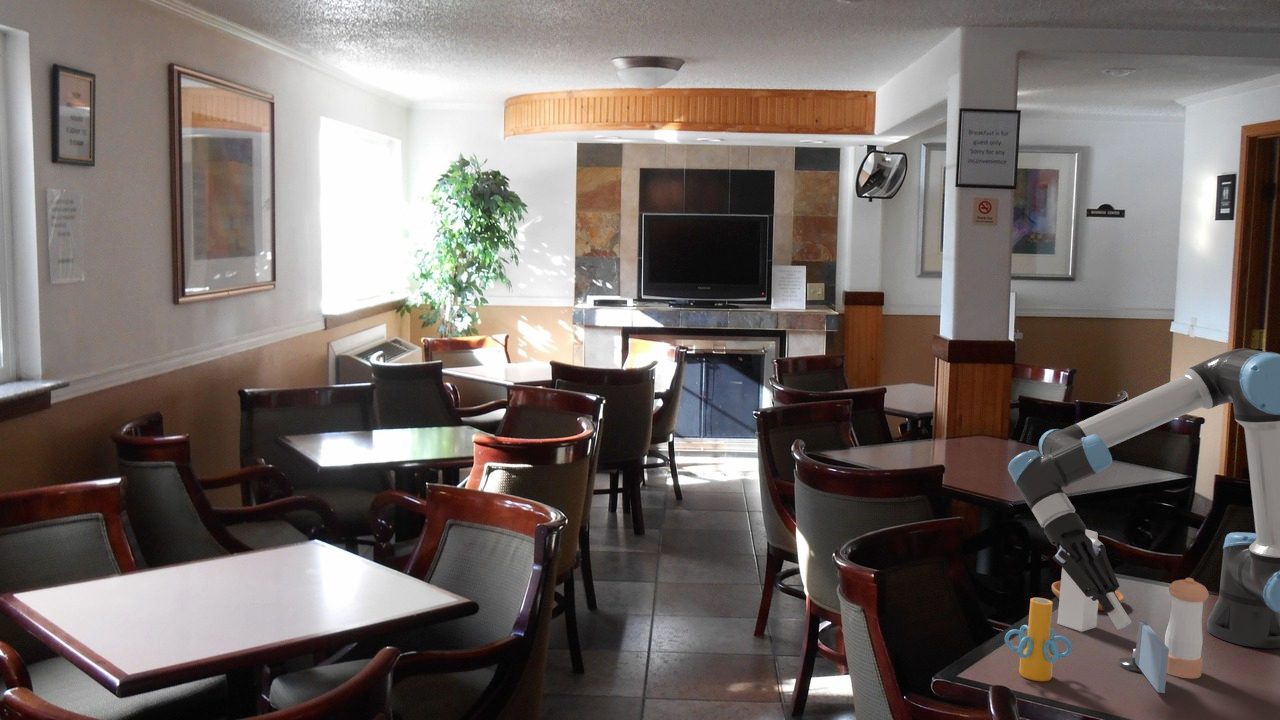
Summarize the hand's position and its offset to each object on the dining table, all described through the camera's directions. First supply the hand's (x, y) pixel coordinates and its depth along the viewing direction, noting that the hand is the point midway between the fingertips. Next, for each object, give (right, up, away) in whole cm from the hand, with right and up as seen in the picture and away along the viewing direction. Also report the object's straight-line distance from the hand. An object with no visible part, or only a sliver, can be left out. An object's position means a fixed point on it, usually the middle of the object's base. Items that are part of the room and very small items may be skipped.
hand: (1124, 626), depth 203 cm
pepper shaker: (+15, -11, +9) cm, 21 cm away
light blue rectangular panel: (+5, -10, +1) cm, 11 cm away
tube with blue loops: (-16, -11, +3) cm, 20 cm away
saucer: (+14, -7, +51) cm, 53 cm away
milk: (+4, -8, +33) cm, 34 cm away
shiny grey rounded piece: (+7, -11, +10) cm, 16 cm away
